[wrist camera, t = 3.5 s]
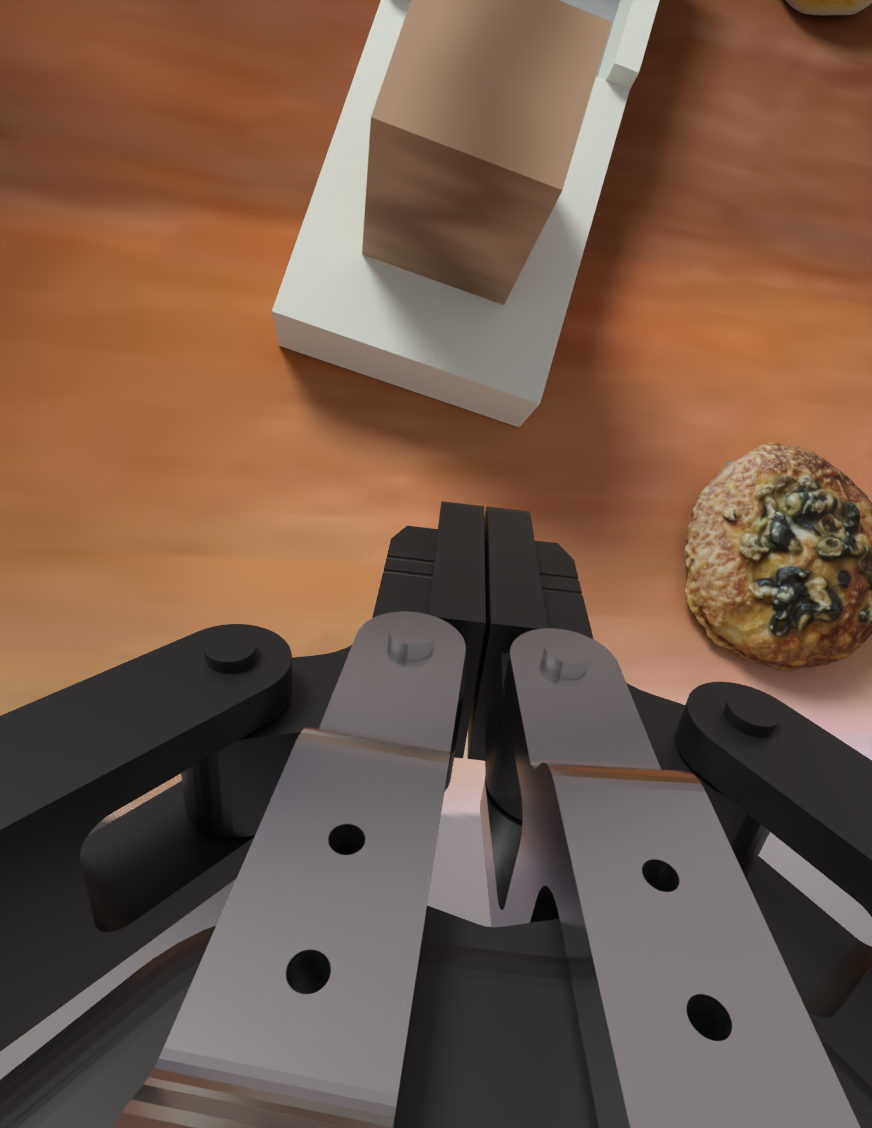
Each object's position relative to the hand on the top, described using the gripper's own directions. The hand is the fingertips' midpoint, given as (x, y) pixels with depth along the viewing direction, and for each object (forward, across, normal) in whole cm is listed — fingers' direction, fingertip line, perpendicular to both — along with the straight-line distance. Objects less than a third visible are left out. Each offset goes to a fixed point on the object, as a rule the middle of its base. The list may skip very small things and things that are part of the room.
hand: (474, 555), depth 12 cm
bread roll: (+21, -16, +10) cm, 29 cm away
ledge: (+27, +2, -3) cm, 27 cm away
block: (+24, +2, -4) cm, 24 cm away
